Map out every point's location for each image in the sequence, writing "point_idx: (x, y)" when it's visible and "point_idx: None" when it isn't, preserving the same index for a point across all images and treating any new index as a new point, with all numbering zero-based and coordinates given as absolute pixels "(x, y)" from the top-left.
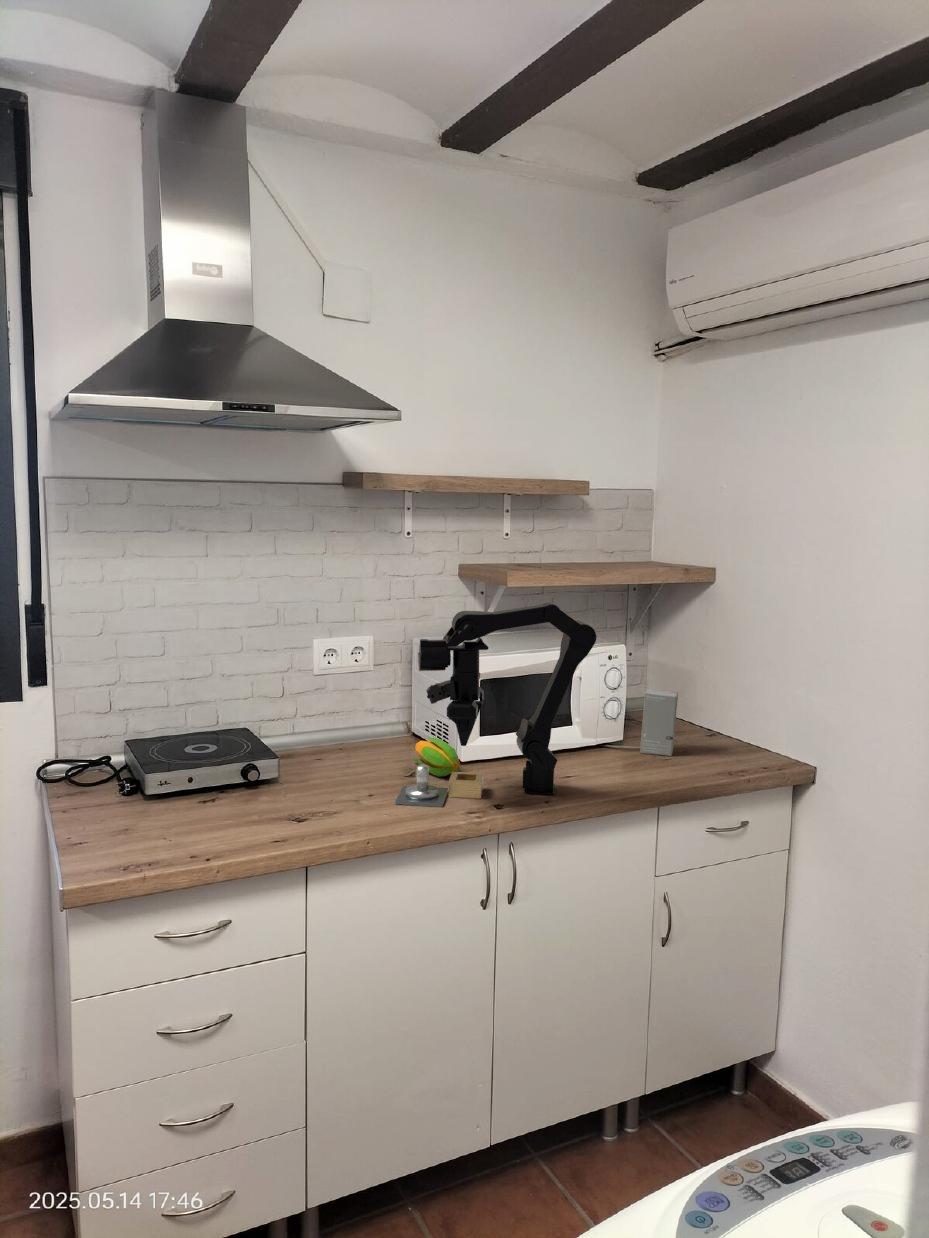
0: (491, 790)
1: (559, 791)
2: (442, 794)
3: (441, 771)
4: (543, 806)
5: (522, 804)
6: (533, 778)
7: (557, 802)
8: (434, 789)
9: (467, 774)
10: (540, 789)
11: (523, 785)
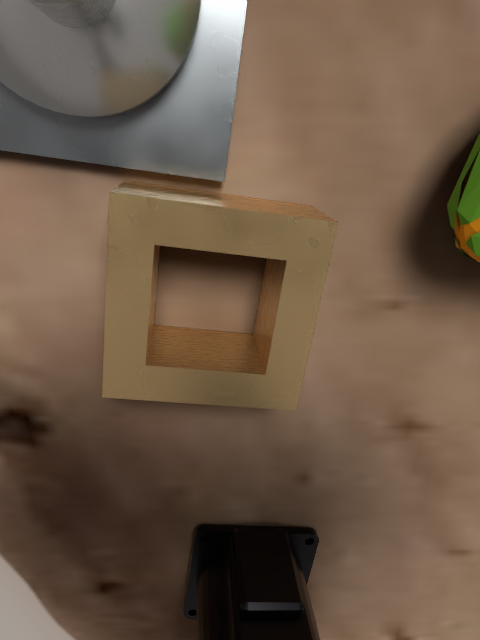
0: None
1: None
2: (95, 141)
3: (475, 142)
4: (49, 578)
5: (60, 514)
6: (208, 613)
7: (106, 616)
8: (92, 79)
9: (274, 321)
10: (196, 590)
11: (233, 541)
